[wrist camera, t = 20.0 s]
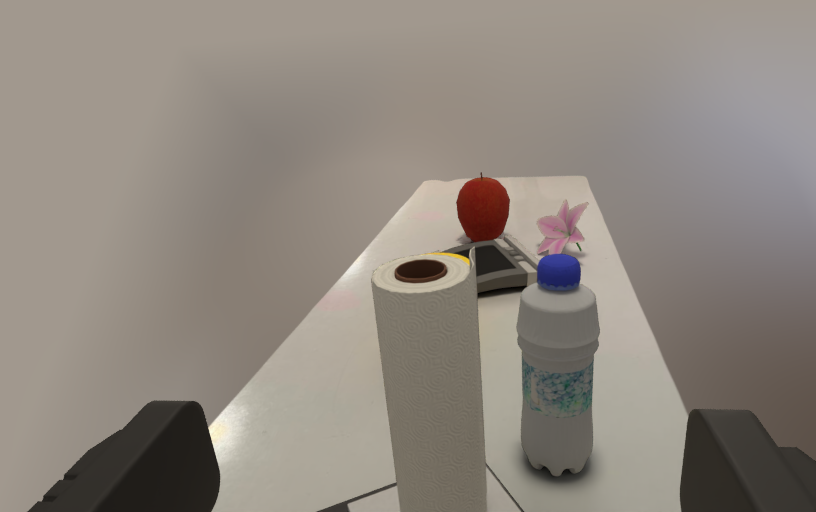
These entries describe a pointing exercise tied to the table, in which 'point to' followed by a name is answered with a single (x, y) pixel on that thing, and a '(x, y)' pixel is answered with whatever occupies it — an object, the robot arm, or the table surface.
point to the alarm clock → (500, 263)
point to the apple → (483, 208)
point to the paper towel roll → (433, 380)
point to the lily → (561, 228)
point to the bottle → (557, 365)
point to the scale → (383, 505)
